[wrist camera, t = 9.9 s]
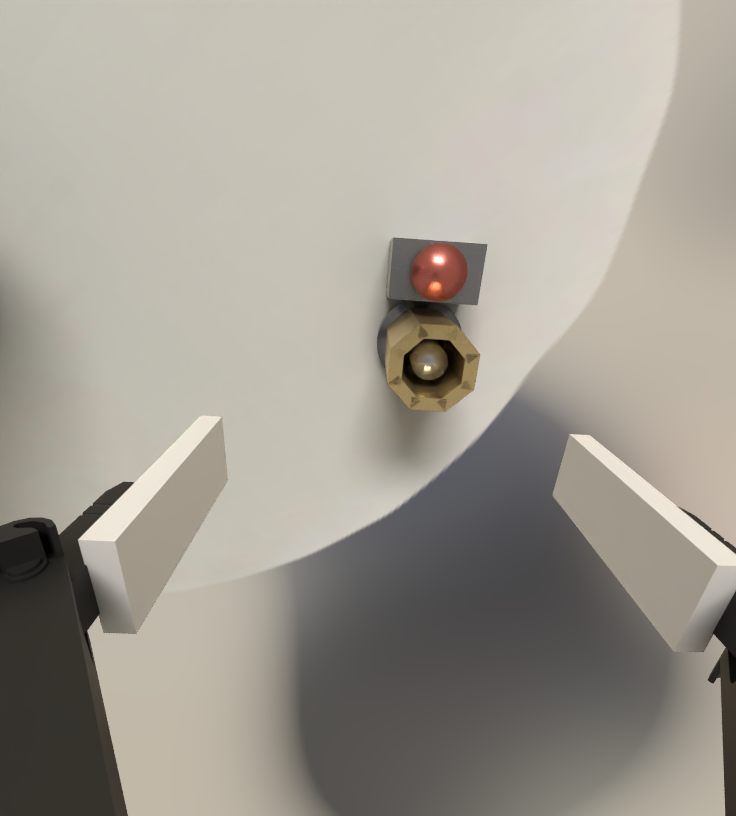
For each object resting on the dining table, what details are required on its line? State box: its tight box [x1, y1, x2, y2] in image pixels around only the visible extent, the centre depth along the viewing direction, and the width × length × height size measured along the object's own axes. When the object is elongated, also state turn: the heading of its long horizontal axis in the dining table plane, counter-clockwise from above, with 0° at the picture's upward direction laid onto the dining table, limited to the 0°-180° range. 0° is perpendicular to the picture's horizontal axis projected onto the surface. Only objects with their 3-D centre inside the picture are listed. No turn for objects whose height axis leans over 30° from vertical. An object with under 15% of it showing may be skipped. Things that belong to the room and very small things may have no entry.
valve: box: [377, 238, 487, 380], centre depth 33 cm, size 8×13×8 cm, turn 176°
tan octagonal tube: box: [384, 308, 480, 412], centre depth 32 cm, size 6×6×9 cm
